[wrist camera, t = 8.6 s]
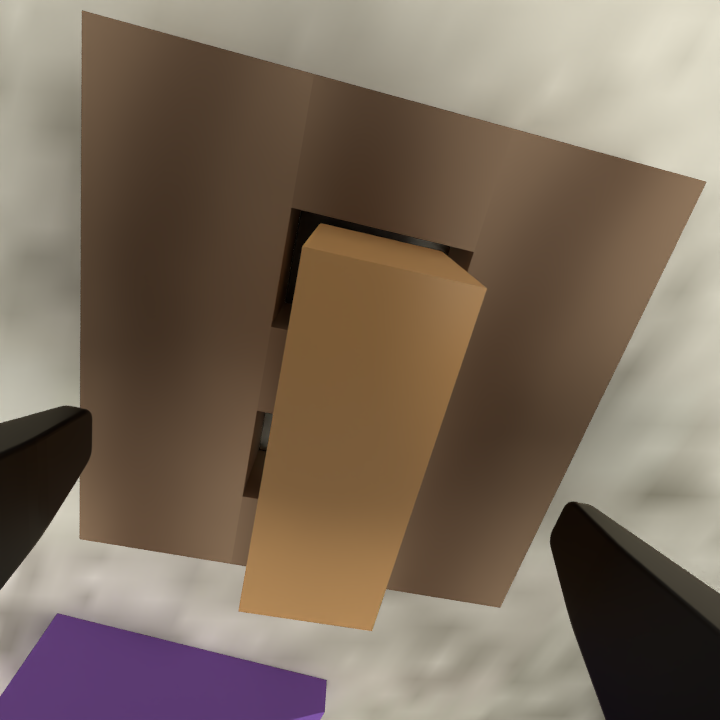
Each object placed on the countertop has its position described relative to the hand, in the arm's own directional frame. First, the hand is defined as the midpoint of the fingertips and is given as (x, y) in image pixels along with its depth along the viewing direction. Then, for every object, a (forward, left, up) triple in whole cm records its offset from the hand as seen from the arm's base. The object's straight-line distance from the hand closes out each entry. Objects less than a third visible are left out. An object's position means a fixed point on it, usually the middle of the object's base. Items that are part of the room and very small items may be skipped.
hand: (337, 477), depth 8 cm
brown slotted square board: (0, 0, -7) cm, 7 cm away
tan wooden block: (0, 0, -7) cm, 7 cm away
